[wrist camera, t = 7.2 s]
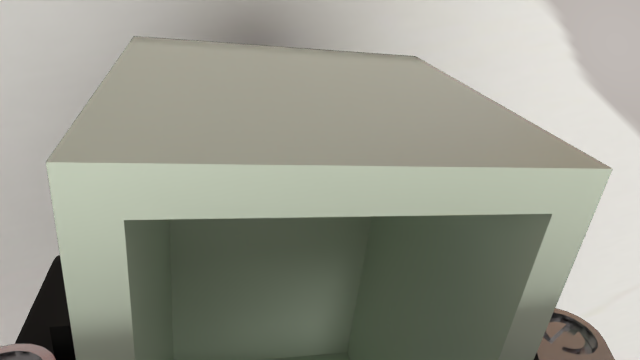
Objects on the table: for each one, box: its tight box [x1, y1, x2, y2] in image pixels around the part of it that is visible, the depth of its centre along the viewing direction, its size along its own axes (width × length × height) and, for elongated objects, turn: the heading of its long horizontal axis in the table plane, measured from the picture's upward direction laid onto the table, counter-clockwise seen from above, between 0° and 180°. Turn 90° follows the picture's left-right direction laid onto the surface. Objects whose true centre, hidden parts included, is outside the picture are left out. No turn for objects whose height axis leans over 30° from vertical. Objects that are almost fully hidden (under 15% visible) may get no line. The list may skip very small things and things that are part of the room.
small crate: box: [46, 36, 612, 360], centre depth 9 cm, size 9×6×6 cm, turn 174°
